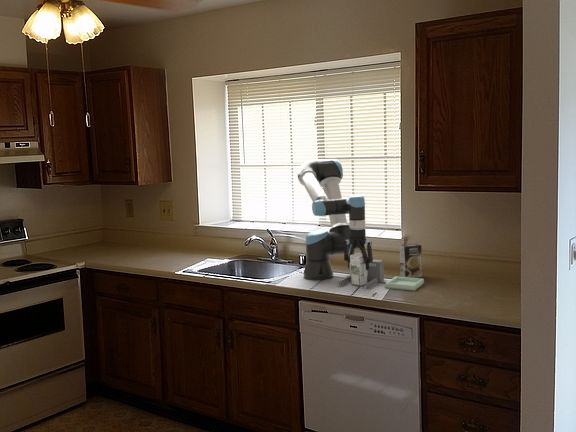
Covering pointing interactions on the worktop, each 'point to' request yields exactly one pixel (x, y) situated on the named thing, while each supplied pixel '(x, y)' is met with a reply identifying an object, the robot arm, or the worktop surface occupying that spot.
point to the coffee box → (410, 260)
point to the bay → (370, 274)
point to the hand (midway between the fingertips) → (358, 275)
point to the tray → (404, 283)
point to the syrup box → (357, 269)
